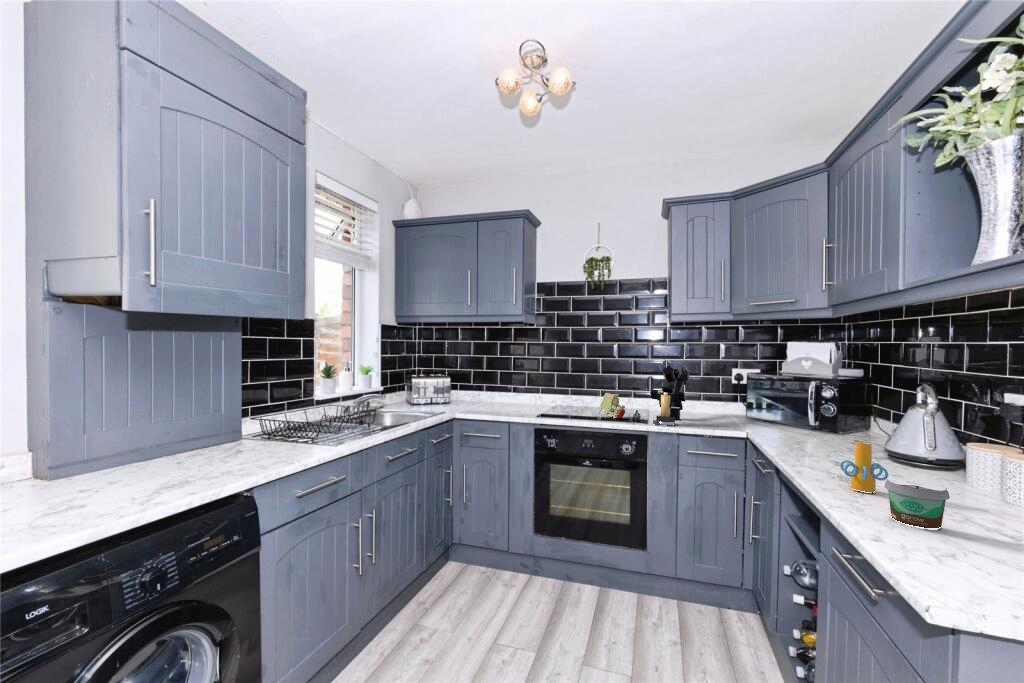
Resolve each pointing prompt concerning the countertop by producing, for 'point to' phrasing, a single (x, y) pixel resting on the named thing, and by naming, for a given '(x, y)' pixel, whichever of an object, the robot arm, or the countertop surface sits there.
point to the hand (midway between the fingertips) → (664, 407)
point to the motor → (664, 420)
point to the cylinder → (863, 468)
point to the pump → (665, 405)
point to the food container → (916, 504)
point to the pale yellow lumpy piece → (612, 405)
